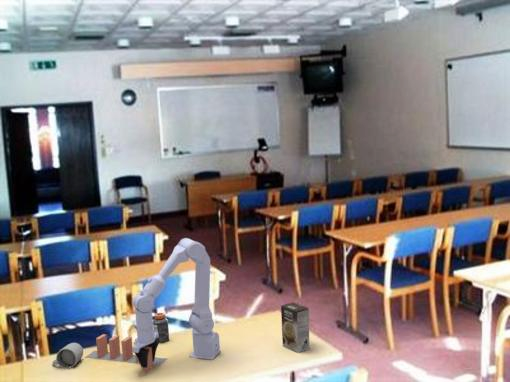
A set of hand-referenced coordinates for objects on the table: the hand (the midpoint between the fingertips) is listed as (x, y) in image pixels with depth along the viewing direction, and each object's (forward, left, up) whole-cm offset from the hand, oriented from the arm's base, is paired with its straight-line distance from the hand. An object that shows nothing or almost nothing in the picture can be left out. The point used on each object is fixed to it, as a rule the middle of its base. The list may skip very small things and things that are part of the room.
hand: (147, 364), depth 206 cm
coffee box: (-46, -30, -2) cm, 55 cm away
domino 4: (+6, -6, -2) cm, 9 cm away
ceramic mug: (+32, +4, -2) cm, 32 cm away
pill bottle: (+8, -24, -2) cm, 26 cm away
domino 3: (+12, -6, -2) cm, 14 cm away
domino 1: (+23, -6, -2) cm, 24 cm away
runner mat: (+13, -6, -2) cm, 14 cm away
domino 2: (+17, -6, -2) cm, 19 cm away
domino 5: (0, 0, -2) cm, 2 cm away
